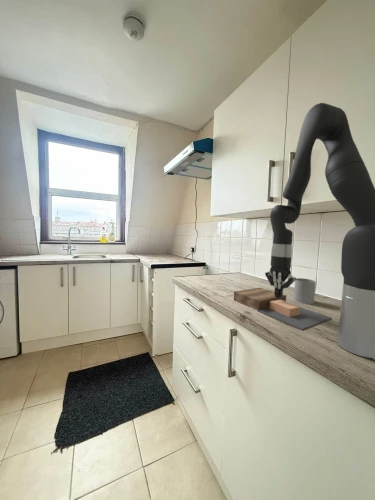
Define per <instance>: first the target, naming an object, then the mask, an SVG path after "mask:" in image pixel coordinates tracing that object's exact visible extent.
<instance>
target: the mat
mask: <svg viewBox="0 0 375 500" xmlns="http://www.w3.org/2000/svg"><path fill="white" fill-rule="evenodd" d="M299 307H300V315H296V316H292V317H288V316H286V315H283V314H281V313H279V312H277V311H274V310H272V309H270V308H266V309H262V310H257V312H258V313H260V314H262V315H265V316H268V317H270V318H272V319H275V320H276V321H280V322H282V323H284V324H286V325H288V326H291V327H293V328H295V329H298V330H300V331H304V330H306V329H309V328H311V327H315V326H317V325H319V324H321V323H324V322H327V321H329V320H332V319H333V318H332V317H330V316H328V315H325V314H322V313H318V312H315V311H313V310H310V309H307V308H303V307H301V306H299Z"/></svg>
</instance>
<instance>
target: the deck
mask: <svg viewBox="0 0 375 500" xmlns="http://www.w3.org/2000/svg"><path fill="white" fill-rule="evenodd" d="M274 292H275V290H274V291H273V290H270V289H266V288H263V287H256V288H248V289H242V290H235V291H234V292H233V301H235V302H238V303H239V304H242V305H244V306H246V307H249V308H252V309H253V310H256V311H258V310H262V309H266V308H270V301H275V300H282V301H285V302H287V295H286V294H283V296H282V297H281V298H277V297H275V295H274Z"/></svg>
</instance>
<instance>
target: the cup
mask: <svg viewBox="0 0 375 500" xmlns="http://www.w3.org/2000/svg"><path fill="white" fill-rule="evenodd" d="M295 278H296V280H295V281H294V287H293V289H294V290H293V301H294V302H297V303H299V304H300V303H301V304H303V305H304V304H305V305H313V304H314V303H315V296H316V286H317V285H316V284H317V281H316V280H314V279H313V280H312V279H308V278H297V277H295Z"/></svg>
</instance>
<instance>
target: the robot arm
mask: <svg viewBox="0 0 375 500" xmlns="http://www.w3.org/2000/svg"><path fill="white" fill-rule="evenodd" d="M299 132H300V133H299V137H298V142H297V146H296V148H295V149H296V150H295V155H294V159H293V164H292V167H291V170H290V174H289V176H288V179H287V181H286V184H285V186H284V189H283V192H282V197H283V199H285V200H287V204H286V205H285V204H277V205H275V206H274V207H272V209H271V211H270V215H269V216H270V217H269V218H270V223H271V228H272V234H273V235H272V245H271V246H272V247H271V252H270V253H271V254H270V267H269V271H267V272H265V273H264V274H265V275H264V276H265V277H266V279H267V281H268V283H269V284H270V286H273V287H274V295H275V297H277V298H281V297H282V296H283V293H284V289H288V288H289V287H291V285H293V283H295V280H296V278H297V277H295V276H293V275H292V271H291V268H292V267H291V266H292V256H293V245H292V244H293V237H294V235H293V231H292V230H291V229H288V228H287V227H286V224H287V225H289V224H293V223H295V222H296V221H297V220H298V219H299V217H300V215H301V210H302V209H301V208H302V203H303V197H304V195H305V192H306V190H307V189H308V188H307V187H308V185H309V182H310V179H311V176H312V175H311V174H312V161H311V160H312V152H313V149H314V145H315V143H316V142H317V141H316V140H319V141H321V142H322V143H323V145H324V147H325V150H326V152H327V161H326V166H325V169H324V170H325V171H324V176H325V180H326V182H327V185H328V188H329V190H330V193H331V194H332V197H334V199H335V200H336V201H337V202H338V203H339V204H340V206H341V207H342V208H343V209H344V210H345V211H346V212H347V213H348V214H349V215H350V218H351V219H352V221H353V223H354V226H355V227H353V228H351V229H350V230H348V231H347V232H346V233H345V235H344V237H343V240H342V244H341V263H340V264H341V265H340V268H341V269H340V270H341V271H340V272H341V274H342V277H343V283H342V295H341V302H340V303H341V304H340V311H339V313H340V314H339V321H338V334H337V344H338V346H339V347H341V348H342V349H344V350H345V351H348V352H349V353H352V354H354V355H357V356H358V357H359V356H360V357H363V358H368V359H371V358H372V359H371V360H373V361H375V186H374V183H373V180H372V178H371V175H370V173H369V171H368V168H367V166H366V163H365V162H364V159H363V158H362V156H361V154H360V152H359V149H358V147H357V144H356V143H355V141H354V139H353V136H352V135H353V134H352V132H351V128H350V124H349V120H348V117H347V114H346V112H345V111H344V110H343V109H342V108H340V107H338V106H334V105H331V104H329V103H326V102H319V103H316V104H315V105H314V106H312V107H311V108H310V109H309V110H308V112H307V113H306V114H305V117H304V119H303V122H302V124H301V127H300V131H299Z"/></svg>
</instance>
